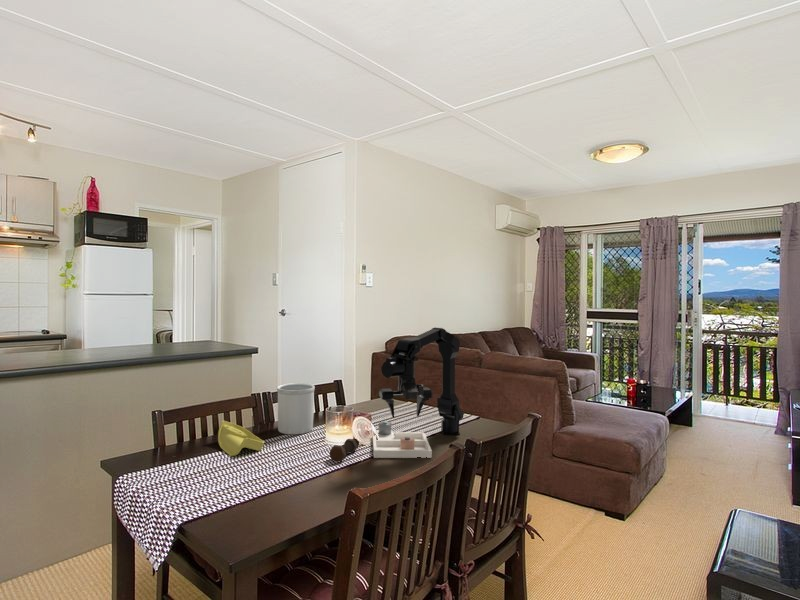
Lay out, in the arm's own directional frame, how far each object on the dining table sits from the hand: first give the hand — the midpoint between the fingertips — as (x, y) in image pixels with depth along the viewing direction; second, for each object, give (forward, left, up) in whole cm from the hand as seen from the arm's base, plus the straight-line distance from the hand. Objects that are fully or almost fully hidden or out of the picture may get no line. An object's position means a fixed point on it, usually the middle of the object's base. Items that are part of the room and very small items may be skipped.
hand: (405, 416), depth 168 cm
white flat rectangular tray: (+1, -6, -12) cm, 13 cm away
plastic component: (+59, -3, -12) cm, 60 cm away
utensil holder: (+42, -22, -12) cm, 49 cm away
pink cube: (-1, +3, -11) cm, 12 cm away
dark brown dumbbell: (+21, +5, -12) cm, 24 cm away
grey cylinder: (+6, -16, -11) cm, 21 cm away
